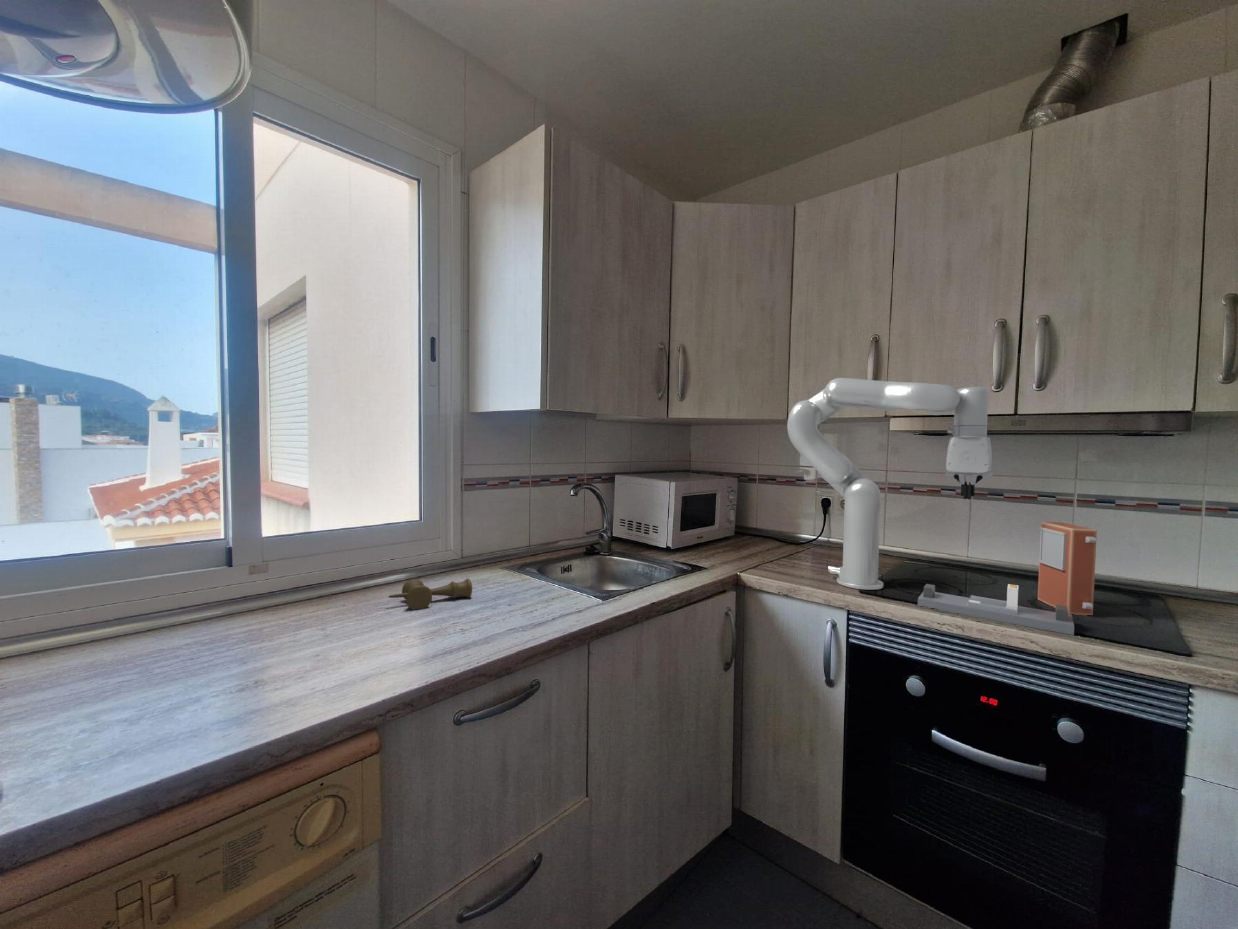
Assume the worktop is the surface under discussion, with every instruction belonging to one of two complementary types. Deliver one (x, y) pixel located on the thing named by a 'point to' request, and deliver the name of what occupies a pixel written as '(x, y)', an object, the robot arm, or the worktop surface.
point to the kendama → (431, 592)
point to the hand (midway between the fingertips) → (967, 498)
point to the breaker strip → (998, 611)
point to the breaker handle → (1012, 596)
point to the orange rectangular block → (1067, 566)
